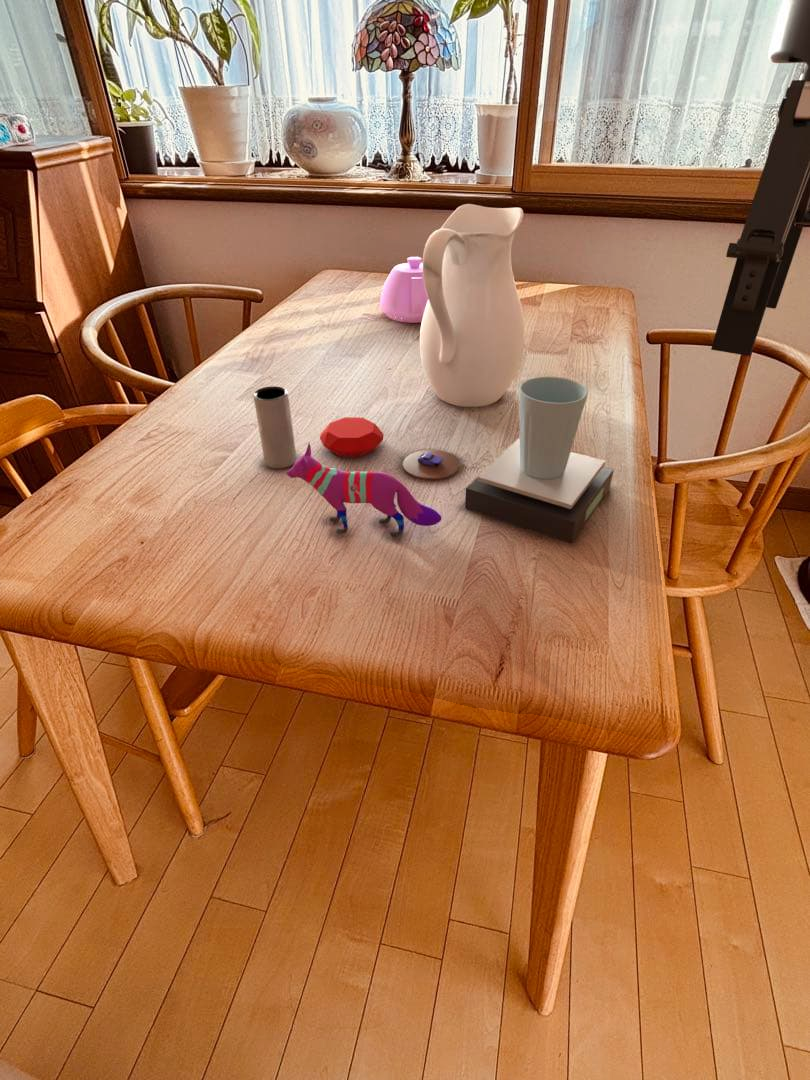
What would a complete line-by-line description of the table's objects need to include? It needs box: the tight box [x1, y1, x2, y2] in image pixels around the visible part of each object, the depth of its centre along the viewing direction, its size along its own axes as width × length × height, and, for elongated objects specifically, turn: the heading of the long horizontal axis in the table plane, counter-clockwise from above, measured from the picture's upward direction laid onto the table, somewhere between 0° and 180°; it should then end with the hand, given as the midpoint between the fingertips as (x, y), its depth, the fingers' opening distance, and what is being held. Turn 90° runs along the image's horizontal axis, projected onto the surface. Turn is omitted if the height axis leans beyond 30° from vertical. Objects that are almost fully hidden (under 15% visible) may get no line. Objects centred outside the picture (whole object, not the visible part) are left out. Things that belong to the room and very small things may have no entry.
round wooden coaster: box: [402, 449, 462, 482], centre depth 87 cm, size 8×8×2 cm
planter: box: [252, 385, 298, 469], centre depth 86 cm, size 4×4×10 cm
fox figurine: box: [285, 442, 443, 538], centre depth 72 cm, size 4×18×10 cm, turn 85°
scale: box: [464, 437, 615, 544], centre depth 79 cm, size 14×14×4 cm
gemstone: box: [319, 416, 385, 458], centre depth 91 cm, size 9×9×3 cm
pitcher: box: [419, 203, 526, 408], centre depth 96 cm, size 24×17×28 cm
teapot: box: [379, 256, 428, 324], centre depth 140 cm, size 22×16×12 cm
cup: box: [518, 376, 589, 479], centre depth 74 cm, size 8×8×10 cm
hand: (746, 326), depth 51 cm, fingers open, 13 cm apart
